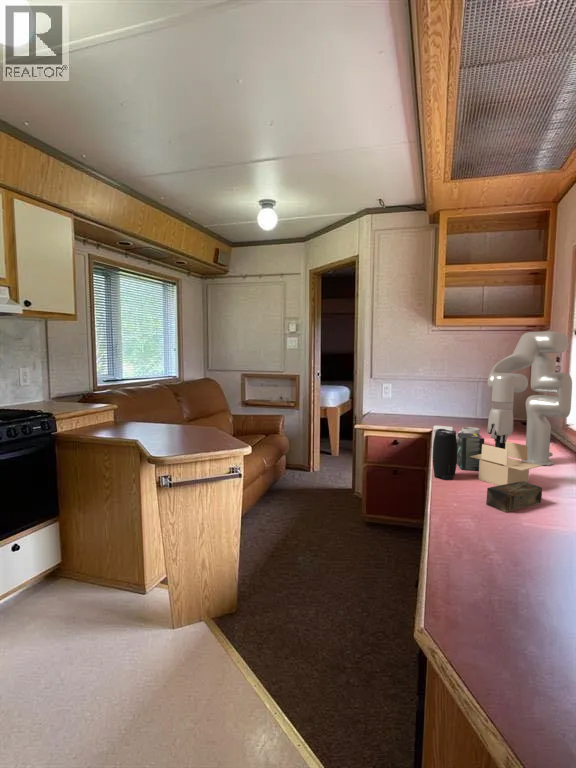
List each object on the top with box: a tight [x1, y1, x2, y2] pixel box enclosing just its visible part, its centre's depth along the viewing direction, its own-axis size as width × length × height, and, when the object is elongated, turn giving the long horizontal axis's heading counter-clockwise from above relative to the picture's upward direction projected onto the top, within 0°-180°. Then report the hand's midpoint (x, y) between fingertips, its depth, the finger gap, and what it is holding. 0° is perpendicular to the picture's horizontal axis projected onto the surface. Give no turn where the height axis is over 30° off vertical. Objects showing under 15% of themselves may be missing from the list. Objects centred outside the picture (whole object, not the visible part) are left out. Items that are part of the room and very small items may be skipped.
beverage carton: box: [485, 481, 543, 513], centre depth 138 cm, size 8×19×7 cm, turn 116°
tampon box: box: [456, 432, 485, 472], centre depth 181 cm, size 11×9×15 cm
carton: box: [470, 454, 542, 486], centre depth 162 cm, size 14×22×8 cm, turn 30°
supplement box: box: [431, 425, 454, 460], centre depth 197 cm, size 9×9×15 cm
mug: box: [456, 426, 481, 438], centre depth 220 cm, size 11×10×10 cm
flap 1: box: [481, 443, 509, 465], centre depth 158 cm, size 6×11×1 cm
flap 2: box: [505, 441, 528, 461], centre depth 165 cm, size 6×11×1 cm
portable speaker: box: [432, 429, 458, 481], centre depth 167 cm, size 9×9×20 cm
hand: (499, 451), depth 160 cm, fingers closed
